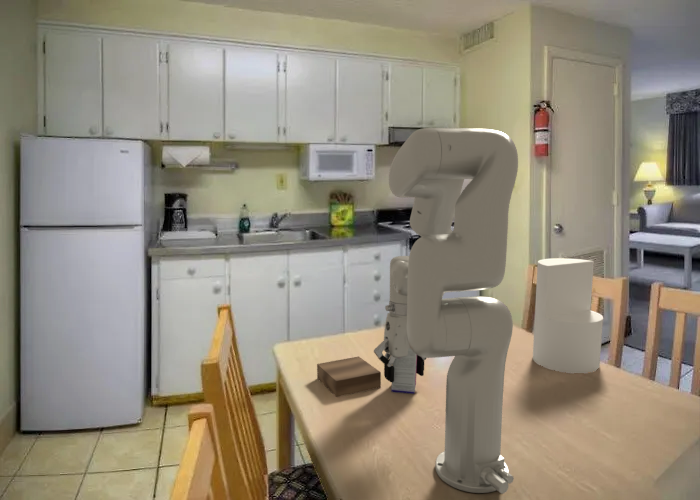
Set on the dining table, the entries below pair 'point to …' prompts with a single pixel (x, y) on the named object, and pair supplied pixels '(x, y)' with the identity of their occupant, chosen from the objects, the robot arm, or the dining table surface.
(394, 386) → the supplement box
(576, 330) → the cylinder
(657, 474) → the dining table surface
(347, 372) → the walnut riser block
